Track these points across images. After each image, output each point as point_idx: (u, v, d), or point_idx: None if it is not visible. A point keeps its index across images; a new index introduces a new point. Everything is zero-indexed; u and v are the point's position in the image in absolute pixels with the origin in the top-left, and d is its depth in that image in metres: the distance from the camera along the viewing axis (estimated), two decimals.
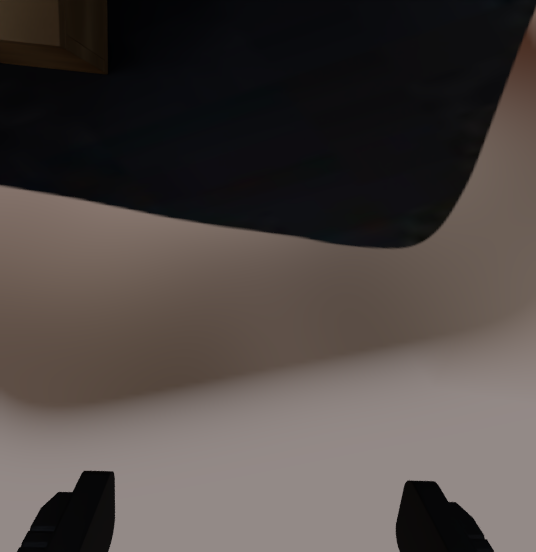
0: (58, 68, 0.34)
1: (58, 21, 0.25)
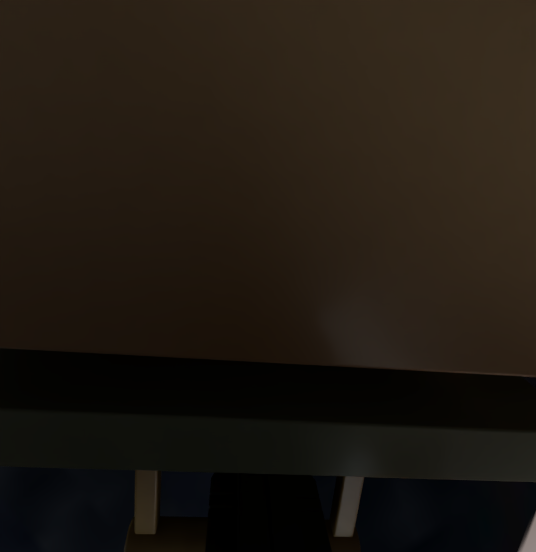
0: None
1: None
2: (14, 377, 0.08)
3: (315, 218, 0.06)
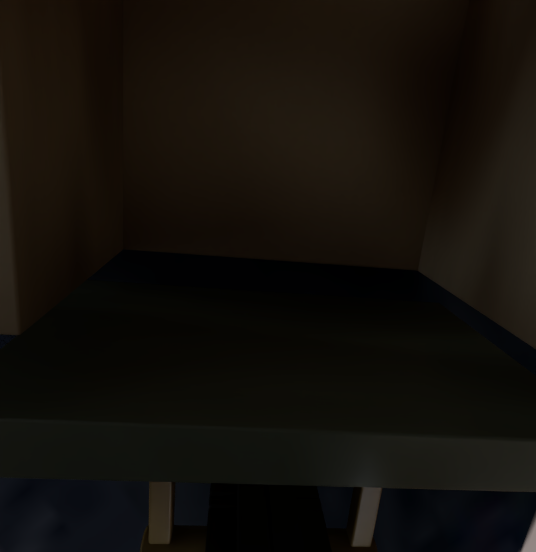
0: None
1: None
2: (28, 386, 0.08)
3: None
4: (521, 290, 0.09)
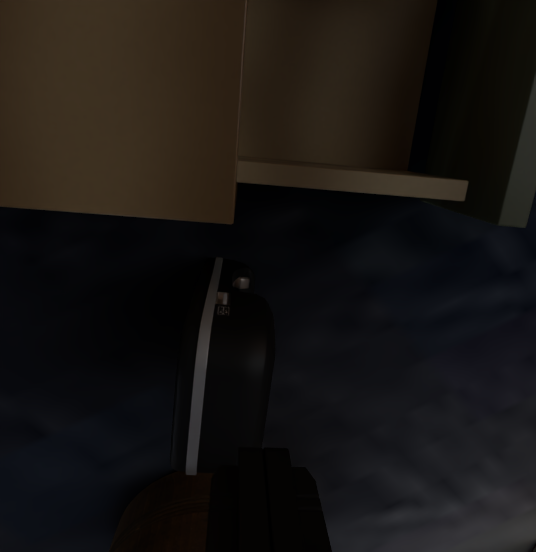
0: None
1: None
2: (490, 189, 0.18)
3: None
4: None
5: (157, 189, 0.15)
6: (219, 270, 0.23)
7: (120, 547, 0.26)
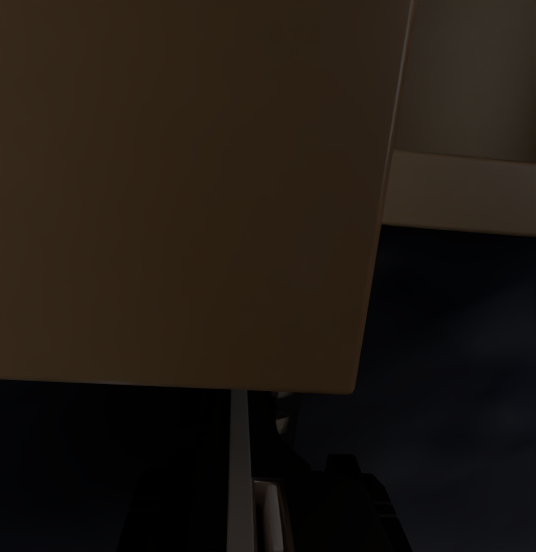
0: None
1: None
2: None
3: None
4: None
5: (35, 268, 0.03)
6: None
7: None
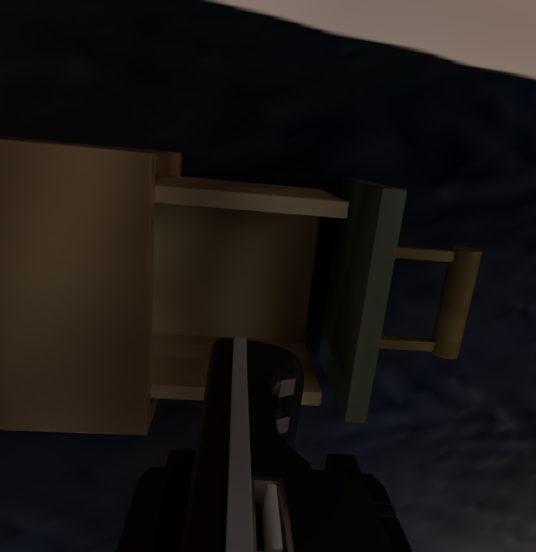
0: None
1: None
2: (343, 391, 0.24)
3: (99, 303, 0.20)
4: None
5: (91, 416, 0.21)
6: (244, 378, 0.11)
7: None
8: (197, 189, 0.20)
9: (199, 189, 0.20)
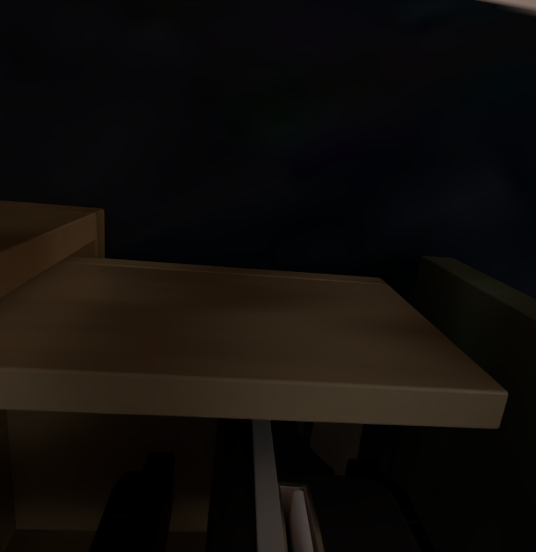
0: None
1: None
2: None
3: None
4: None
5: None
6: None
7: None
8: (102, 374, 0.07)
9: (108, 373, 0.07)
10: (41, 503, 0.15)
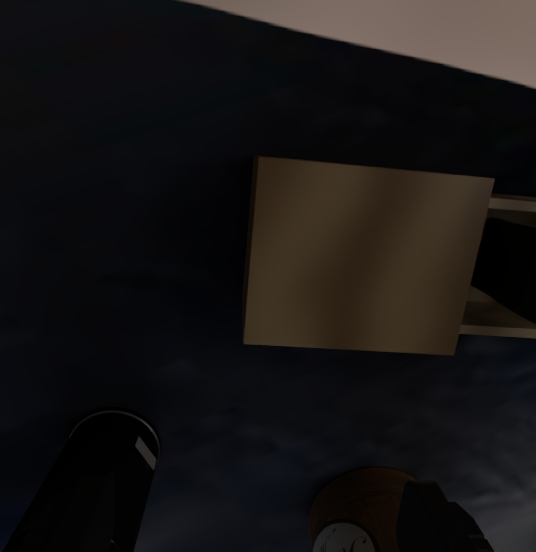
0: None
1: (257, 176, 0.29)
2: None
3: (445, 269, 0.32)
4: None
5: (424, 342, 0.33)
6: None
7: (334, 515, 0.44)
8: (513, 200, 0.32)
9: (514, 200, 0.32)
10: None
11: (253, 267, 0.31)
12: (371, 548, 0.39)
